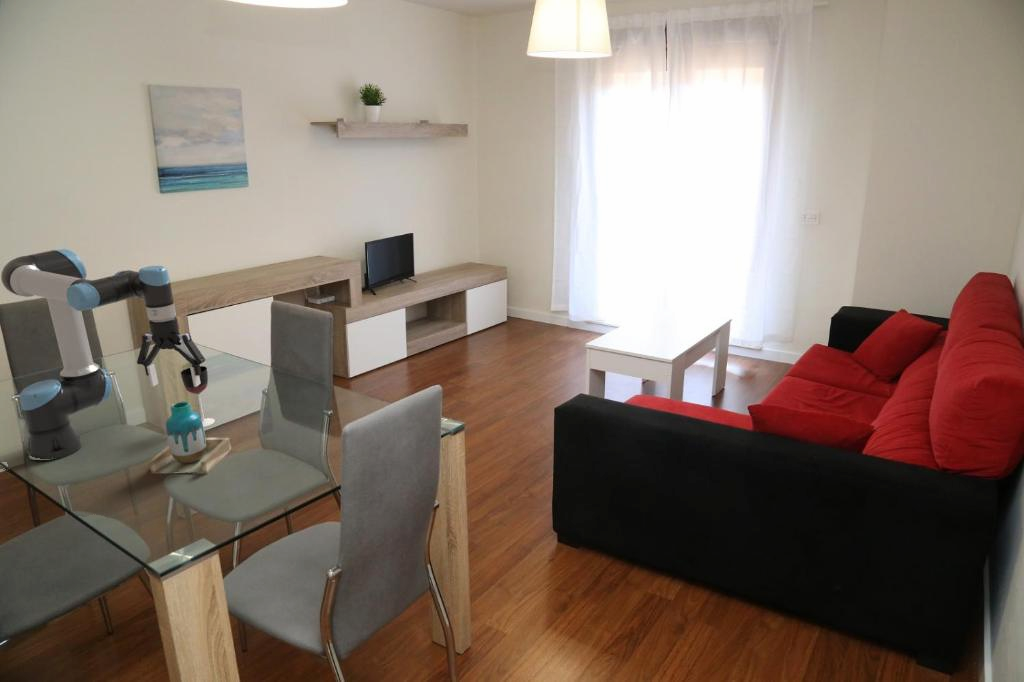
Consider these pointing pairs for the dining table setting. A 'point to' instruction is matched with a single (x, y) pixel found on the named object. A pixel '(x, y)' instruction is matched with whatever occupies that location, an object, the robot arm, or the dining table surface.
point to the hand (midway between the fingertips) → (176, 385)
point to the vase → (185, 433)
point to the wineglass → (197, 389)
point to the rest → (204, 465)
